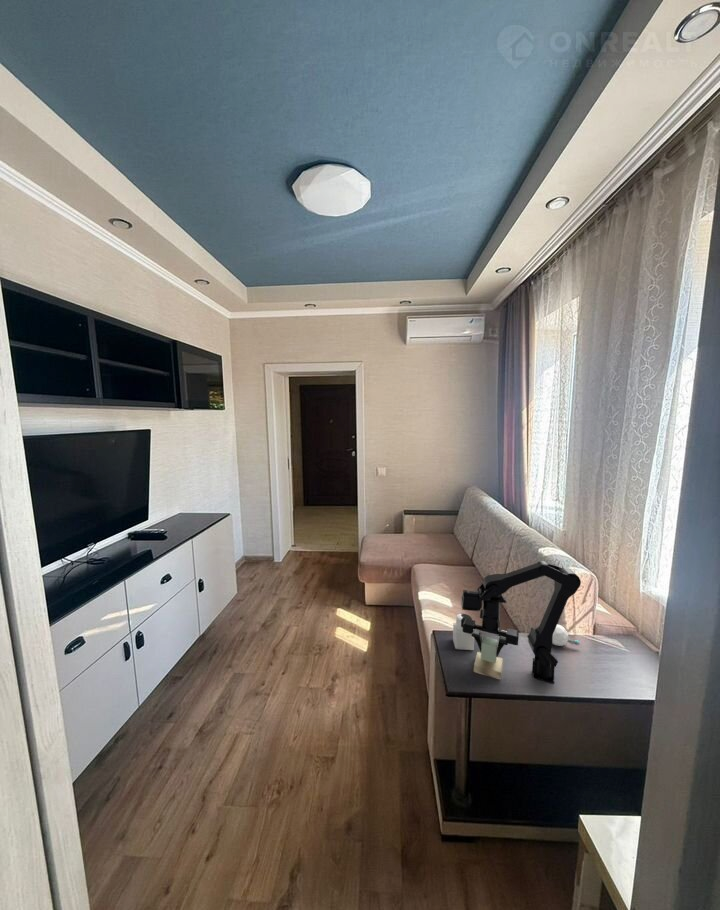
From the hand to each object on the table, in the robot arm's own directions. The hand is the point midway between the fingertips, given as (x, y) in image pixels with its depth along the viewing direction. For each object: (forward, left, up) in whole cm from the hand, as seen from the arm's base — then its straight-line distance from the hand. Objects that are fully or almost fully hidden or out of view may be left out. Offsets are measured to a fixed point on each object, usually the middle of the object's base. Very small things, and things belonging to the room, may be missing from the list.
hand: (489, 654), depth 132 cm
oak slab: (0, 0, -6) cm, 6 cm away
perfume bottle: (-25, -30, -6) cm, 39 cm away
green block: (0, 0, -1) cm, 1 cm away
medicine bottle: (+11, -11, -6) cm, 16 cm away
